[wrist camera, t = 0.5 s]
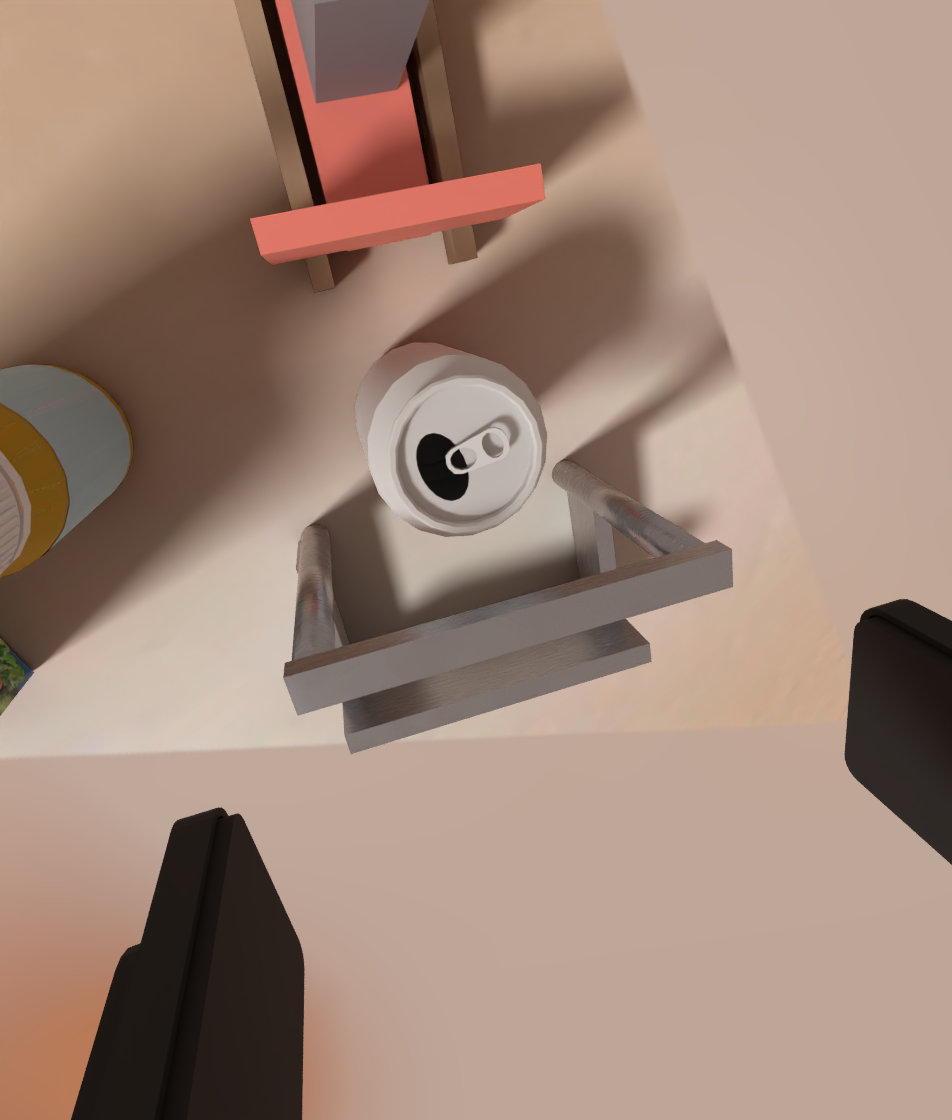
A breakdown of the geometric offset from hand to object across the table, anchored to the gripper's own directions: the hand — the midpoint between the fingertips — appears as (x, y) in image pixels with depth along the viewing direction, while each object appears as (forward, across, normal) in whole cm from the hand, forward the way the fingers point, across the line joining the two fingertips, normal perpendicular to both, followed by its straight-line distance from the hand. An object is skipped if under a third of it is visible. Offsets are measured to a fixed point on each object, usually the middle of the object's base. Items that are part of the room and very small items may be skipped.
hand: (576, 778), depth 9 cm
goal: (+28, -2, +10) cm, 30 cm away
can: (+29, -2, 0) cm, 29 cm away
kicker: (+28, -2, -14) cm, 32 cm away
